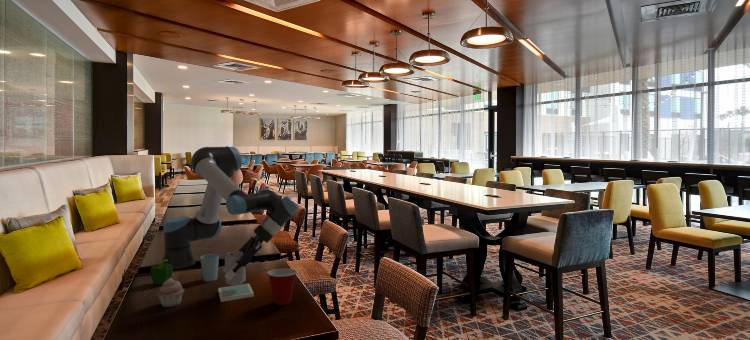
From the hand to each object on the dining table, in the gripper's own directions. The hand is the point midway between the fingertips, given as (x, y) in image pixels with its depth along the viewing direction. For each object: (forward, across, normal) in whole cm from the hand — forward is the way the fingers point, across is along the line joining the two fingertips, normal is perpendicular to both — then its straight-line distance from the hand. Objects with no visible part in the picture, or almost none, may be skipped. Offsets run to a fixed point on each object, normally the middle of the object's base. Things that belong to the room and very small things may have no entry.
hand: (226, 275), depth 160 cm
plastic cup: (-7, -17, -19) cm, 26 cm away
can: (0, 0, -5) cm, 5 cm away
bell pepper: (+23, +28, +11) cm, 38 cm away
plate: (+4, 0, -8) cm, 9 cm away
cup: (+9, +24, -3) cm, 26 cm away
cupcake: (+20, 0, +8) cm, 21 cm away
